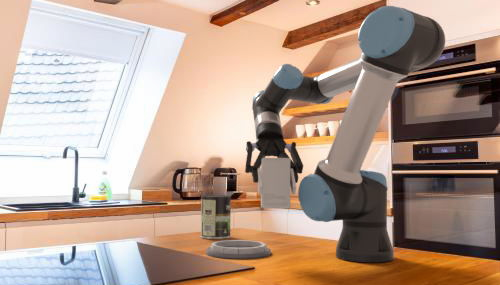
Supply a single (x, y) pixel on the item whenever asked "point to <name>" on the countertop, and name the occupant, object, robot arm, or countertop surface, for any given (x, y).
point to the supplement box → (275, 182)
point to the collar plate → (238, 249)
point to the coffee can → (215, 216)
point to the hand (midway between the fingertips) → (277, 190)
